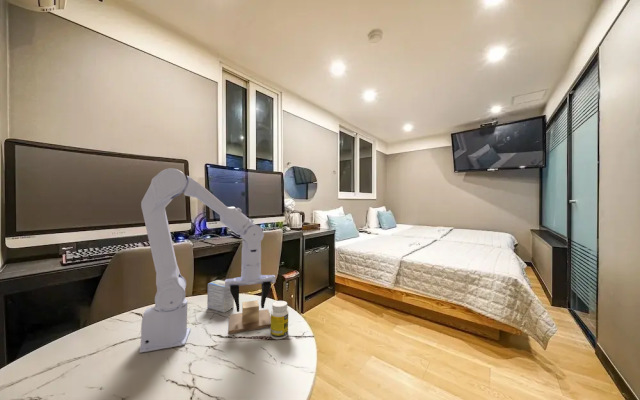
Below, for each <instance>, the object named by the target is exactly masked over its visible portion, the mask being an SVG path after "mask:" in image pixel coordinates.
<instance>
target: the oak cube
mask: <svg viewBox="0 0 640 400" xmlns="http://www.w3.org/2000/svg"><path fill="white" fill-rule="evenodd" d="M258 300H259V299H258ZM258 300H249V301H242V304H241V305H242V306H241V307H242V309H241V310H242V312H241V313H242V321H243V324H246V323H252V322H258V321H259V310H260V305H259V301H258Z"/></svg>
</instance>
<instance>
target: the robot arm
mask: <svg viewBox="0 0 640 400" xmlns="http://www.w3.org/2000/svg"><path fill="white" fill-rule="evenodd" d="M181 194H183V195H184V196H185V197H192V198H195V199H197V200H199V201H200V202H201V203H202V204H204V205H205V206H206V207H208V208H210V209H211V210H212V211H214V212H215V213H217V214H218V215H219V221H220V223H221V224H223V225H224V226H226V227H227V228H228V229H229V230H230V231H232V232H233V233H234V234H236V235H238V236H240V239H242V242H241V243H242V246H241V264H240V266H241V270H240V271H241V273H240V276H239V277H233V278H226V279H225V280H224V281H225V288H229V287H230V292H231V294H232V296H233V298H234V304H235V306H236V307H235V308H236V312H237V313H238V312H239V313H240V286H242V287H243V286H250V285H251V286H252V285H258V284H261V298H260V299H261V300H260V308H261V309H265V303H266V300H267V297H268V295H269V292H270V290H271V288H272V284H274V283H276V275H275V274H262V241H263V239H264V237H265V233H264V231H263V228H262V227H261V226H260V225H259V224H256V223H254V221H255V220H254V219H252V218H249V216H248V217H247V215H245V214H244V213H243V212H242V209H241V208H240V207H235V206H227V205H225V204H224V202H222V201H221V200H220V199H218V198H217V197H216V196H215V195H214V194H213V193H211V192H210V191H209V190H208V189H207V188H206V187H204V185H203V184H201V183H199V181H196V180H195V179H194V178H193V177H190V176H189V175H186V174H185V173H184V172H182V171H181V170H180V169H177V168H173V167H169V168H165V169H163V170H161V171H160V172H159V173H157V174H156V175H155V176H154V177H152V178H151V182H150V185H149V186H148V189H147V190H146V192H145V194H144V196H143V198H142V199H141V203H140V206H141V207H140V208H141V212H142V214H143V220H144V223H145V229H146V233H147V239H148V242H149V247H150V250H151V251H150V252H151V256H152V260H153V261H152V262H153V265H154V270H155V285H156V293H155V295H154V306H151V307H148V308H147V307H146V309H145V310H144V312H143V314H142V319H141V324H140V325H141V326H140V329H141V330H140V349H139V353H140V354H141V353H147V352H152V351H158V350H163V349H169V348H175V347H176V348H177V347H181V346H184V345H186V343H187V341H188V337H189V335H190V333H191V329H192V328H191V327H188V301H189V300H188V299H187V298H186V288H187V280H186V278H185V277H184V276H182V274H181V272H180V271H181V270H180V268H179V266H178V261H177V258H176V253H175V248H174V243H173V239H172V233H171V230H170V226H169V221H168V216H167V210H166V207H168V205H169V204H170V203H172V200H174V199H175V198H176V197H178V196H180V195H181Z"/></svg>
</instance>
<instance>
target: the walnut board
mask: <svg viewBox="0 0 640 400" xmlns="http://www.w3.org/2000/svg"><path fill="white" fill-rule="evenodd" d="M266 328H271V312H270V310H269V309H268V308H267V309H266V308H265V309H259V321H258V322H252V323H246V324H243V321H242V312H239V313H233V314H229V316H228V335H230V334H236V333H237V334H238V333H243V332H247V331H248V332H249V331H252V330H259V329H266Z"/></svg>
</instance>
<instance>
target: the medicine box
mask: <svg viewBox="0 0 640 400" xmlns="http://www.w3.org/2000/svg"><path fill="white" fill-rule="evenodd" d="M206 302H207V307H206V308H207V309H210V310H213V311H217V312H221V313H227V312H229V311H230V310H232V309H234V308H235V307H234V306H235V305H234V304H235V301H234V298H233V296H232V294H231V292H230V287H229V288H225V280H222V279H216V280H213V281H211V282H209V283H207V301H206ZM231 308H232V309H231Z"/></svg>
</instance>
